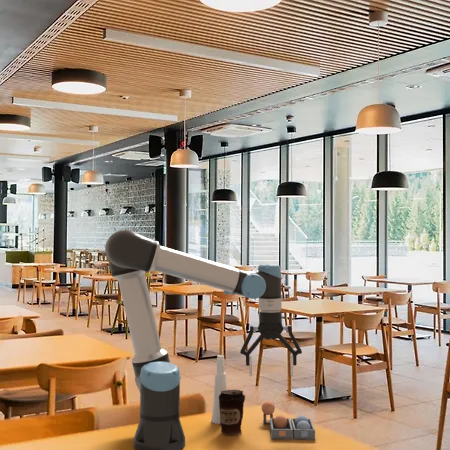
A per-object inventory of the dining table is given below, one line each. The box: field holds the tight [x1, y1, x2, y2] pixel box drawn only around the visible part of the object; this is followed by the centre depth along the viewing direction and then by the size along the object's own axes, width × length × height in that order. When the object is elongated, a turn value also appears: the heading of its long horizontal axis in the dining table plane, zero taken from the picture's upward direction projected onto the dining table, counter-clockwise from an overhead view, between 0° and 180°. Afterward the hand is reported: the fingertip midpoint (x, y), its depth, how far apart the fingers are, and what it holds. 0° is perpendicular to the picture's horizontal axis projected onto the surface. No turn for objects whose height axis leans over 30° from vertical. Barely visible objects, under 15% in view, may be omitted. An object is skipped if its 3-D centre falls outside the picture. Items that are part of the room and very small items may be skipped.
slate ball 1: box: [295, 414, 309, 427], centre depth 196 cm, size 4×4×4 cm
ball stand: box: [262, 413, 274, 426], centre depth 203 cm, size 3×3×3 cm
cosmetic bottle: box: [210, 354, 228, 425], centre depth 205 cm, size 6×6×22 cm
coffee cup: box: [219, 389, 246, 436], centre depth 193 cm, size 9×8×13 cm
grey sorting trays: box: [269, 417, 316, 441], centre depth 193 cm, size 13×12×3 cm
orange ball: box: [261, 400, 276, 416], centre depth 204 cm, size 4×4×4 cm
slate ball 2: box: [296, 421, 311, 430], centre depth 190 cm, size 4×4×4 cm
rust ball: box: [273, 414, 287, 429], centre depth 196 cm, size 4×4×4 cm
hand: (271, 375), depth 202 cm, fingers open, 13 cm apart
